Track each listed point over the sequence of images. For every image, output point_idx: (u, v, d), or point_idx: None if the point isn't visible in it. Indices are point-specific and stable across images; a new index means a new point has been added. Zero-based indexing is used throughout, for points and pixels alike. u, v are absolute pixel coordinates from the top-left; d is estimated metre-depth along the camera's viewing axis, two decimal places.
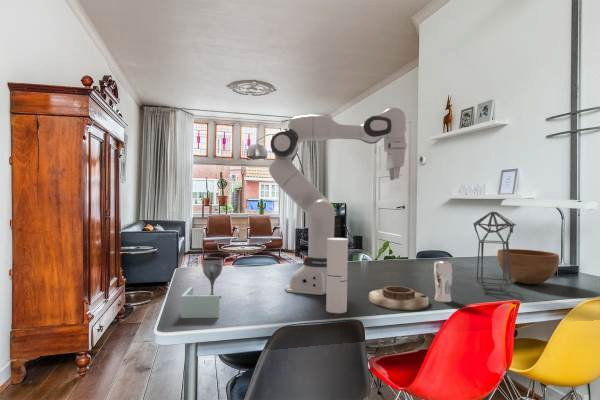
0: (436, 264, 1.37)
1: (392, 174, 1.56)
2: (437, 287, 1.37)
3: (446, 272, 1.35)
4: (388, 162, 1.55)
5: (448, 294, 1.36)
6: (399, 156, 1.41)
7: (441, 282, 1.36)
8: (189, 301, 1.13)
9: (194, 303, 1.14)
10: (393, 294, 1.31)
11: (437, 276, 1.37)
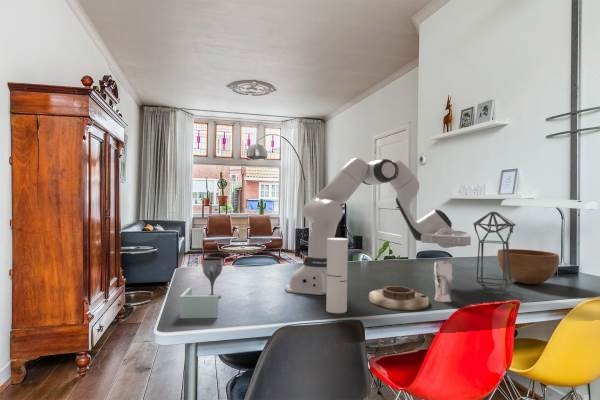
0: (436, 264, 1.37)
1: None
2: (437, 287, 1.37)
3: (446, 272, 1.35)
4: None
5: (448, 294, 1.36)
6: None
7: (441, 282, 1.36)
8: (188, 301, 1.13)
9: (193, 304, 1.13)
10: (393, 294, 1.31)
11: (437, 276, 1.37)
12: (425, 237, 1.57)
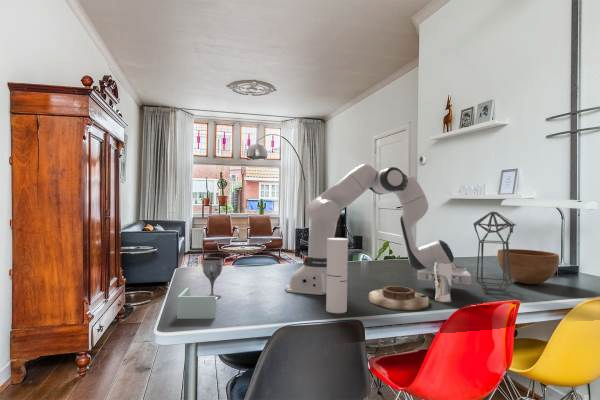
0: (436, 264, 1.37)
1: None
2: (437, 287, 1.37)
3: (446, 272, 1.35)
4: (432, 271, 1.46)
5: (448, 294, 1.36)
6: None
7: (441, 282, 1.36)
8: (185, 302, 1.12)
9: (190, 304, 1.13)
10: (393, 294, 1.31)
11: (437, 276, 1.37)
12: (421, 274, 1.45)
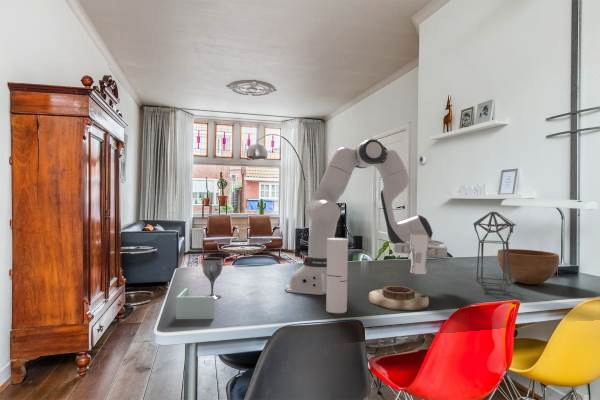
0: (411, 236, 1.36)
1: None
2: (412, 259, 1.36)
3: (421, 243, 1.34)
4: None
5: (423, 266, 1.35)
6: None
7: (416, 254, 1.34)
8: (184, 302, 1.12)
9: (189, 304, 1.12)
10: (393, 294, 1.31)
11: (412, 248, 1.35)
12: (398, 246, 1.44)
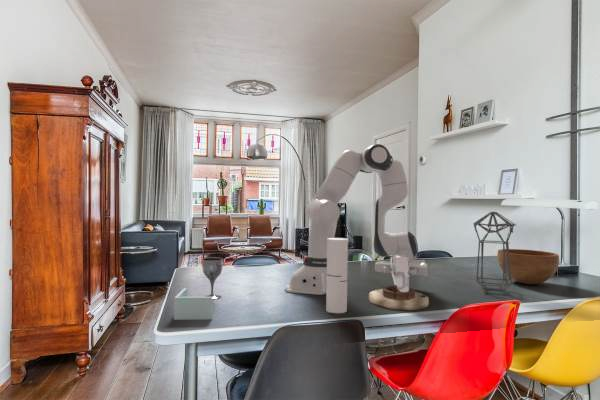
0: (392, 259, 1.35)
1: None
2: (395, 282, 1.34)
3: (401, 266, 1.32)
4: (390, 263, 1.44)
5: (406, 288, 1.33)
6: None
7: (398, 277, 1.33)
8: (182, 303, 1.12)
9: (187, 305, 1.12)
10: (393, 294, 1.31)
11: (394, 271, 1.34)
12: (379, 265, 1.42)
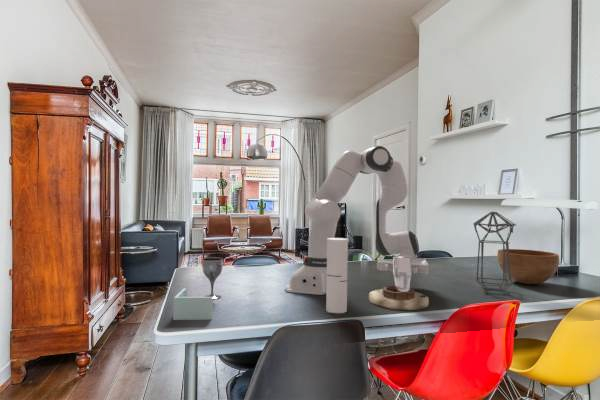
0: (395, 259, 1.34)
1: None
2: (396, 282, 1.34)
3: (404, 267, 1.32)
4: (392, 261, 1.47)
5: (407, 289, 1.33)
6: None
7: (399, 277, 1.33)
8: (182, 303, 1.12)
9: (187, 305, 1.12)
10: (393, 294, 1.31)
11: (396, 271, 1.33)
12: (381, 264, 1.46)
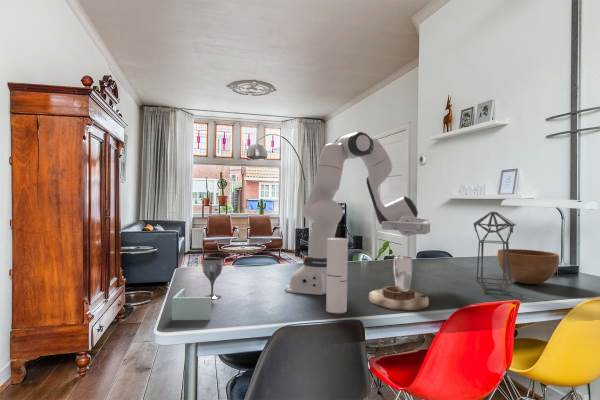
0: (395, 259, 1.34)
1: None
2: (396, 283, 1.34)
3: (405, 267, 1.32)
4: None
5: (407, 290, 1.33)
6: None
7: (400, 277, 1.32)
8: (180, 303, 1.11)
9: (185, 305, 1.11)
10: (393, 294, 1.31)
11: (396, 271, 1.33)
12: (385, 223, 1.54)
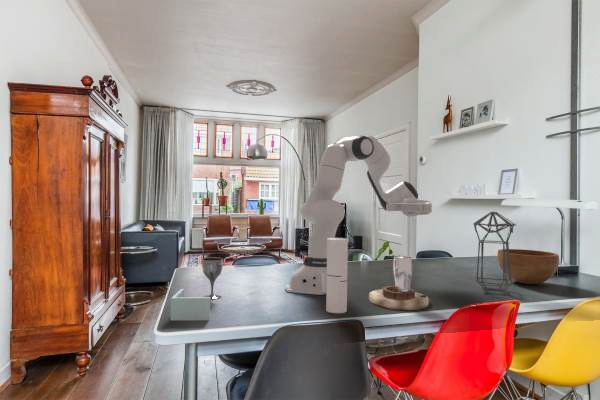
0: (395, 259, 1.34)
1: None
2: (396, 283, 1.34)
3: (405, 267, 1.32)
4: None
5: (407, 290, 1.33)
6: None
7: (400, 277, 1.32)
8: (179, 303, 1.11)
9: (184, 306, 1.11)
10: (393, 294, 1.31)
11: (396, 271, 1.33)
12: (389, 205, 1.65)
